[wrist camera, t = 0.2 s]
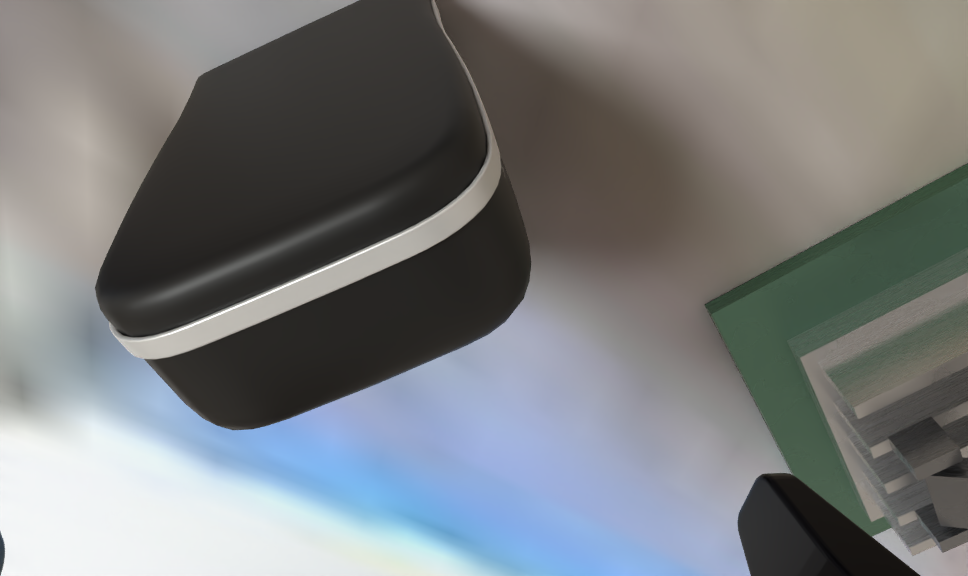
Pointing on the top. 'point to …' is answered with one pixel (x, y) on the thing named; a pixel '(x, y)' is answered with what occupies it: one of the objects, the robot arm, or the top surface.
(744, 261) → the top surface
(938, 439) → the green railed baseplate
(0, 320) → the top surface
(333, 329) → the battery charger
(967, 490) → the wood block
